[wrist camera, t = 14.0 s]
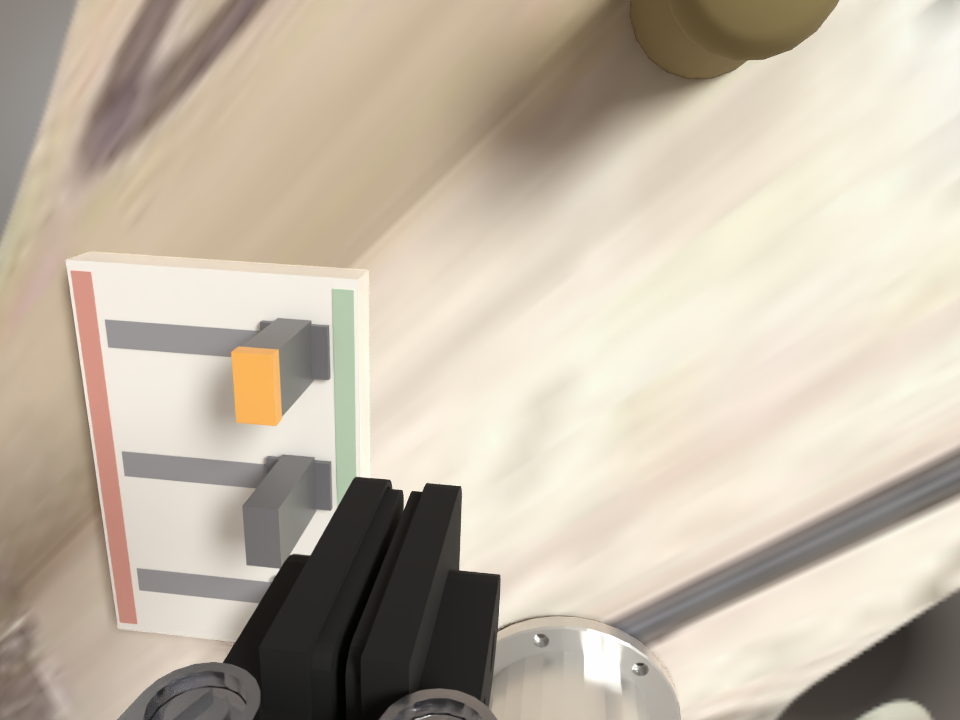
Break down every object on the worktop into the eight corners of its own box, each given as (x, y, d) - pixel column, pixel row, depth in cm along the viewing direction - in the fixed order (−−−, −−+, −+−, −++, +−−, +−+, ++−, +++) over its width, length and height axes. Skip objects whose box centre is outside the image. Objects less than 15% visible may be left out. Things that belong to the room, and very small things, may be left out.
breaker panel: (368, 269, 37) (357, 279, 35) (371, 632, 44) (362, 657, 42) (90, 251, 38) (64, 259, 36) (136, 606, 45) (117, 629, 43)
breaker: (331, 457, 38) (296, 511, 33) (332, 511, 39) (298, 570, 34) (268, 452, 38) (224, 504, 33) (271, 505, 39) (229, 563, 34)
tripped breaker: (328, 319, 35) (290, 356, 31) (330, 382, 36) (293, 427, 32) (261, 315, 36) (213, 350, 31) (265, 377, 37) (218, 421, 32)
